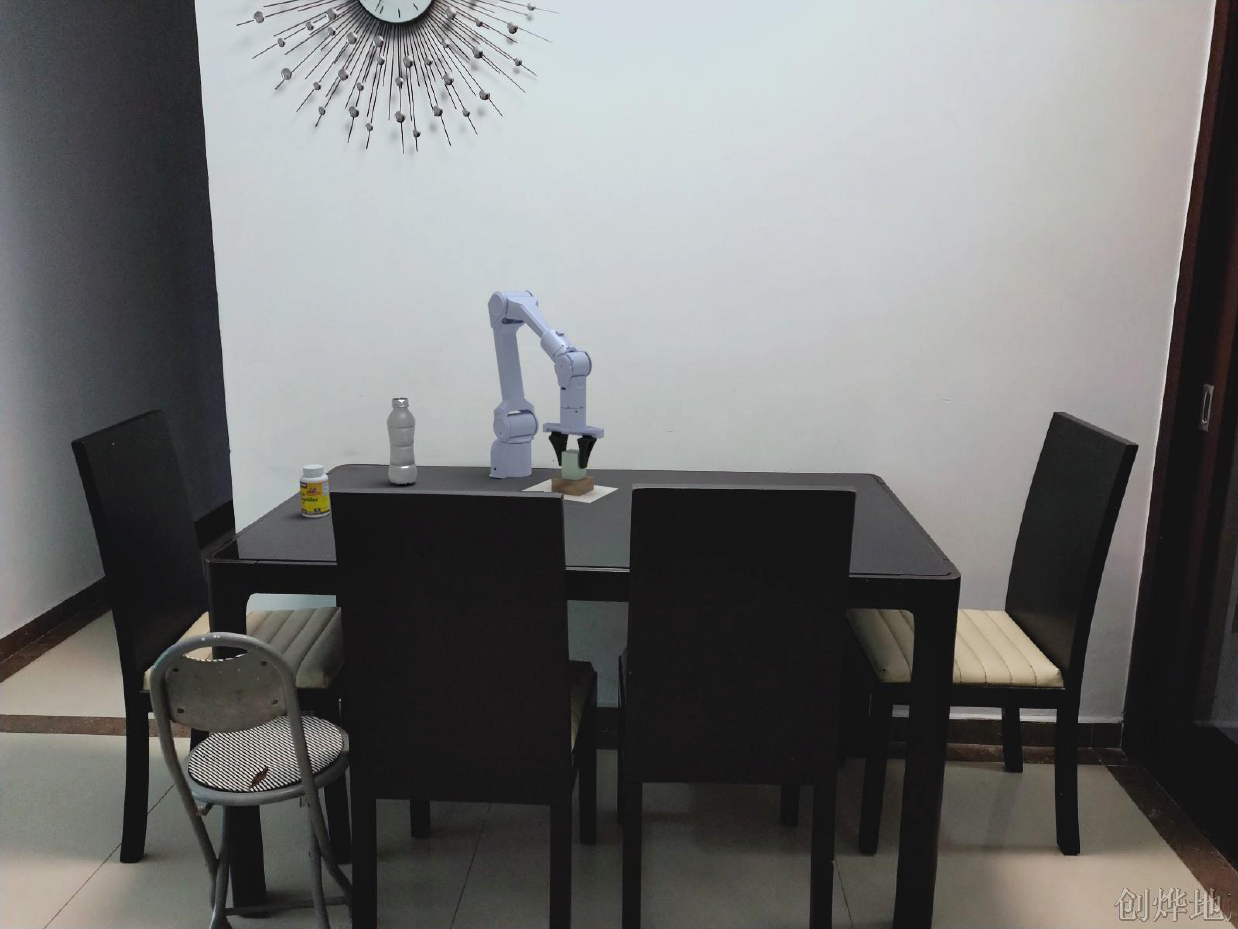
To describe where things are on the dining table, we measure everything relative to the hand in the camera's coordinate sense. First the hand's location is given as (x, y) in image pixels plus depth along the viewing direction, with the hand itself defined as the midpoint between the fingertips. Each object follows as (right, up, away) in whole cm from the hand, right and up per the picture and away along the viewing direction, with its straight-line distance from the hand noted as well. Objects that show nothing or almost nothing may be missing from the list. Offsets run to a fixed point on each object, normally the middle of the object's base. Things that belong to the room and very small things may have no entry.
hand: (572, 466), depth 211 cm
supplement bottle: (-52, -10, -17) cm, 56 cm away
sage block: (0, -2, +1) cm, 3 cm away
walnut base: (0, -5, +1) cm, 6 cm away
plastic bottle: (-40, -4, +9) cm, 41 cm away
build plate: (-1, -6, +2) cm, 6 cm away
